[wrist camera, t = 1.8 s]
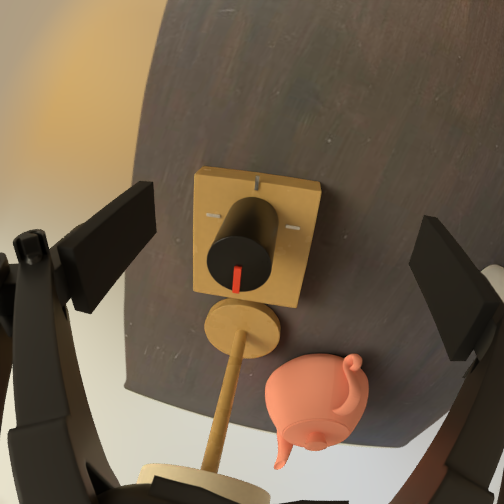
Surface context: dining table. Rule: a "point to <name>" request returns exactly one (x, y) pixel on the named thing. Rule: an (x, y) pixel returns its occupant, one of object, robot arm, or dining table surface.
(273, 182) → the tick marked dial plate
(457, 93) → the dining table surface
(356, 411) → the teapot
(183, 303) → the dining table surface
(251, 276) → the dimmer knob
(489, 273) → the cup
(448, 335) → the robot arm
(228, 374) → the lamp
